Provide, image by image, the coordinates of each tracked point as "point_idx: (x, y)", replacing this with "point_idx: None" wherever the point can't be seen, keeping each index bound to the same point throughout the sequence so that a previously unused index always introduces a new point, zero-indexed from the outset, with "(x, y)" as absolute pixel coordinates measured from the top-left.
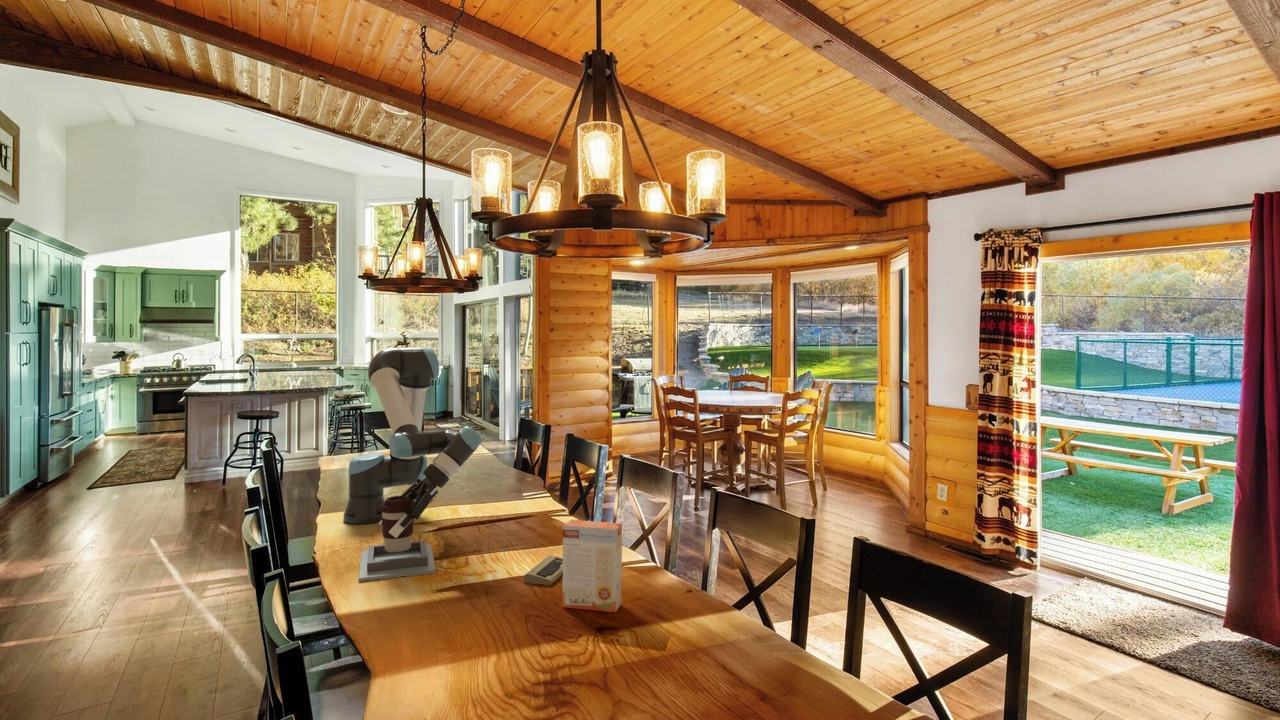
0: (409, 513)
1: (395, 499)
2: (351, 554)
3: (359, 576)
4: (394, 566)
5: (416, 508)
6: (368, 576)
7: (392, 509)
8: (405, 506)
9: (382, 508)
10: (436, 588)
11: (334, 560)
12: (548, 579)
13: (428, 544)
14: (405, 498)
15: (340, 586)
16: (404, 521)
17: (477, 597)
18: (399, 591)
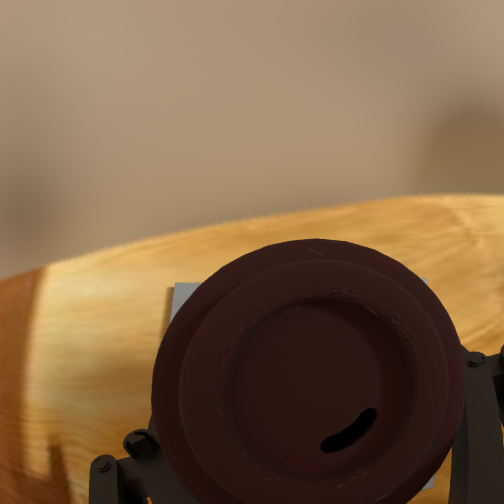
0: (134, 456)
1: (375, 362)
2: (421, 255)
3: (189, 284)
4: None
5: (91, 499)
6: (178, 307)
7: (166, 338)
8: (176, 448)
9: (233, 263)
10: (66, 450)
11: (379, 218)
12: None
13: (428, 482)
14: (354, 467)
15: (170, 248)
16: (150, 420)
17: (16, 487)
18: (80, 373)
